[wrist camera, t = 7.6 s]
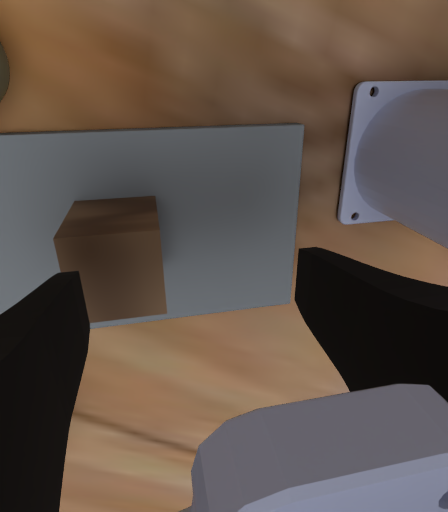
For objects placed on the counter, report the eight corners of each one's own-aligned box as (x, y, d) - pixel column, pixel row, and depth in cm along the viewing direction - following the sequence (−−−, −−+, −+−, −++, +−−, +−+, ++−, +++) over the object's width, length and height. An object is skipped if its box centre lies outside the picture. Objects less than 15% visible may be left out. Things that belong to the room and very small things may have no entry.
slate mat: (296, 123, 20) (304, 124, 19) (284, 295, 24) (290, 303, 24) (-75, 135, 17) (-87, 138, 16) (-6, 331, 21) (-13, 341, 20)
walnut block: (155, 195, 19) (159, 229, 14) (161, 264, 21) (167, 313, 16) (74, 200, 18) (52, 238, 14) (88, 271, 20) (72, 325, 15)
